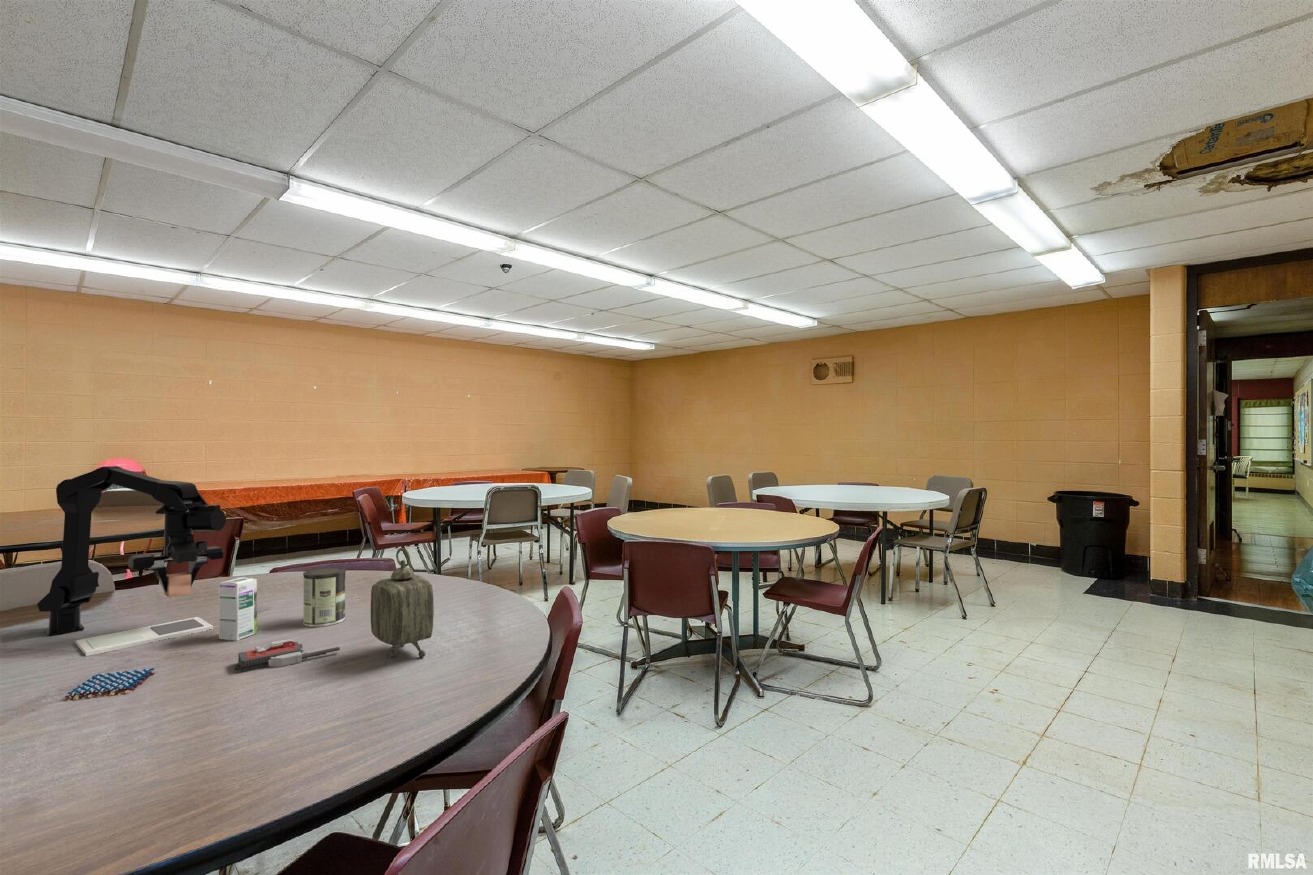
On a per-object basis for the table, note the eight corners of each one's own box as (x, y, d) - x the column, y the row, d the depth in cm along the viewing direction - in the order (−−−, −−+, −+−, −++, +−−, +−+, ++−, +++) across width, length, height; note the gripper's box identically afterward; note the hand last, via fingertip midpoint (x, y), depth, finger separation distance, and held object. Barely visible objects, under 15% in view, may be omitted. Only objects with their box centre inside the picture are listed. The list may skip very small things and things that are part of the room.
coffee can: (333, 613, 165) (333, 564, 165) (352, 619, 160) (353, 569, 160) (295, 622, 157) (295, 571, 157) (314, 629, 151) (315, 576, 151)
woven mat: (93, 682, 119) (93, 672, 119) (156, 675, 122) (156, 666, 122) (61, 704, 109) (61, 693, 109) (131, 696, 112) (131, 686, 112)
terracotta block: (164, 594, 149) (164, 575, 149) (185, 590, 153) (186, 572, 153) (169, 597, 147) (169, 577, 147) (190, 593, 150) (191, 574, 150)
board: (75, 643, 139) (75, 639, 139) (197, 619, 158) (197, 616, 158) (86, 656, 131) (86, 651, 131) (213, 629, 151) (213, 625, 151)
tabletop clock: (433, 657, 132) (434, 550, 133) (393, 668, 126) (394, 555, 126) (406, 642, 142) (407, 542, 142) (368, 651, 136) (369, 546, 136)
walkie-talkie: (235, 678, 121) (340, 655, 134) (235, 657, 121) (341, 636, 134) (231, 666, 127) (332, 645, 141) (231, 646, 127) (332, 627, 141)
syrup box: (237, 641, 142) (237, 583, 142) (217, 639, 143) (218, 581, 143) (257, 633, 148) (258, 577, 148) (238, 632, 149) (239, 576, 149)
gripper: (139, 538, 138) (138, 603, 138) (231, 529, 153) (230, 587, 152) (128, 533, 144) (127, 595, 144) (217, 525, 159) (216, 581, 159)
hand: (177, 589), depth 150 cm, fingers closed on terracotta block, 4 cm apart
